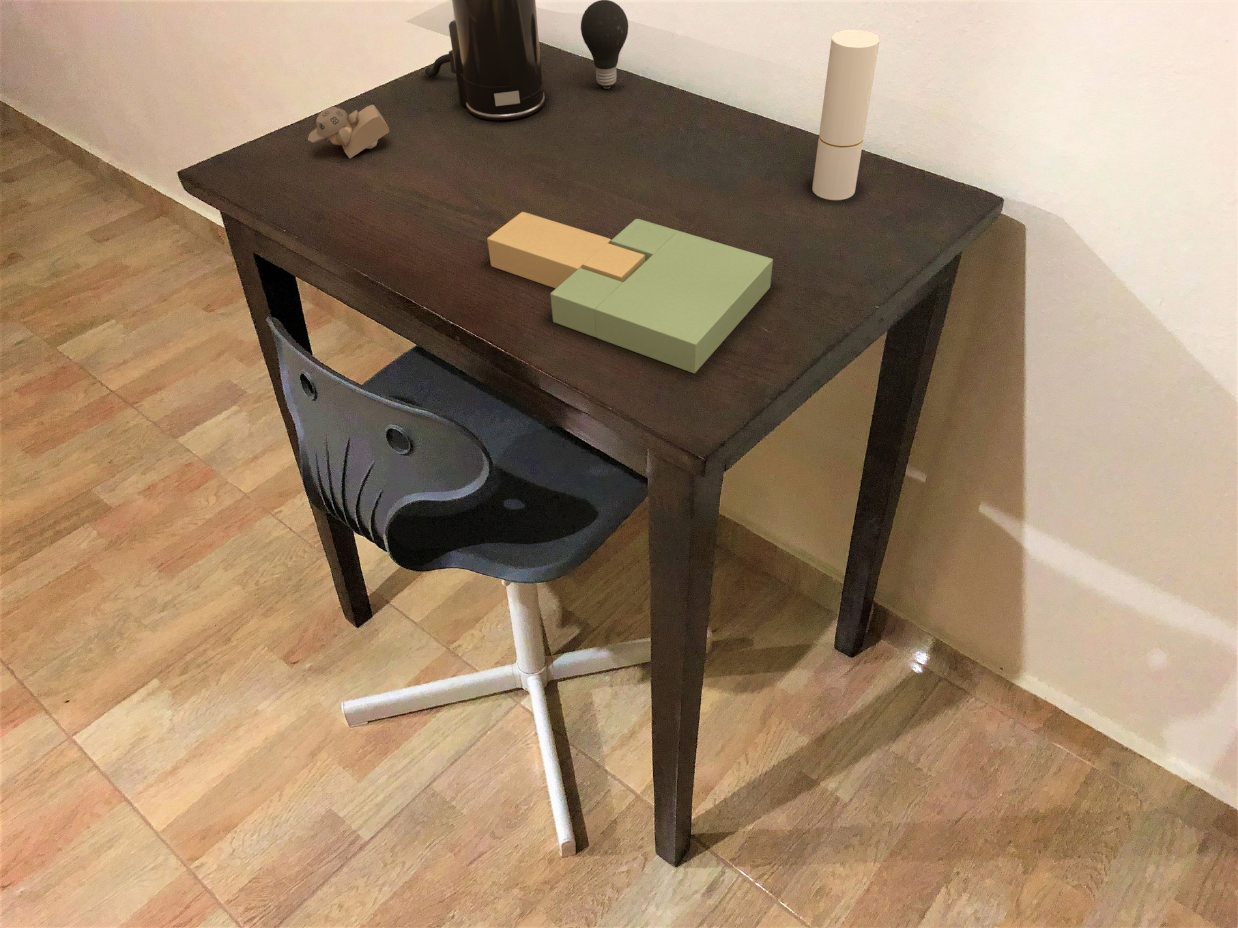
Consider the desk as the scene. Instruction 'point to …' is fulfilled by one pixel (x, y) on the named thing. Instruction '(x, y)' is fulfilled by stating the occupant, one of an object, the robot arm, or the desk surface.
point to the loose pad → (557, 251)
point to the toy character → (350, 129)
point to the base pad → (666, 296)
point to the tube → (844, 112)
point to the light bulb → (604, 37)
